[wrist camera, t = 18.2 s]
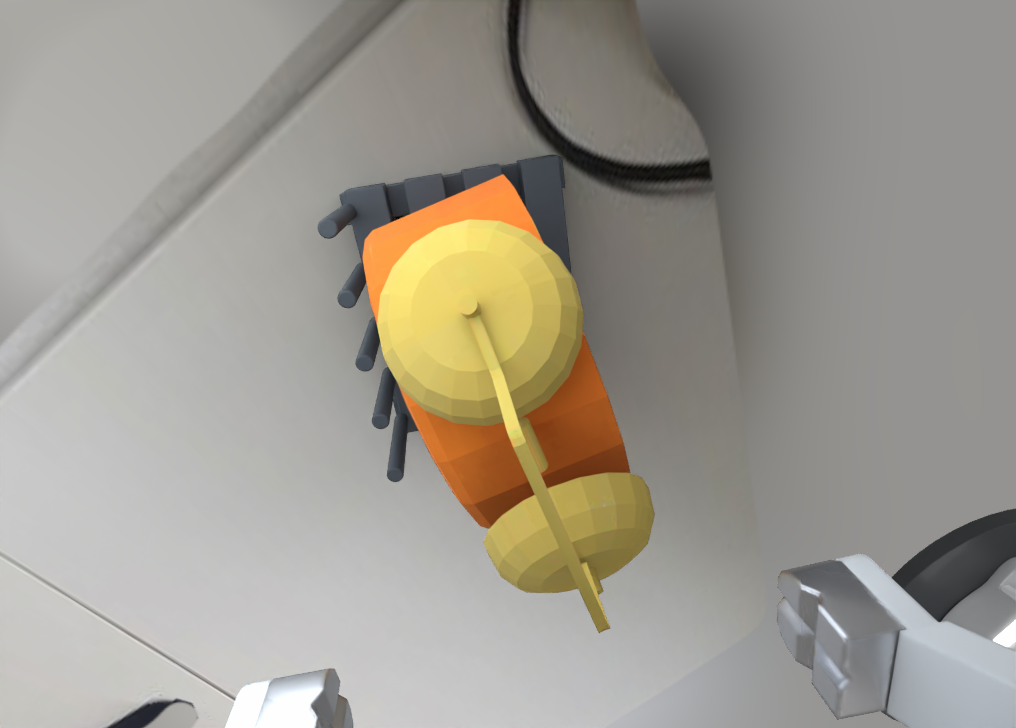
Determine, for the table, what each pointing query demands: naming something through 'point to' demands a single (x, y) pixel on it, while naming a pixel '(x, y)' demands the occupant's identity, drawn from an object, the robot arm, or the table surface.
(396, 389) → the rack
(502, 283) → the alarm clock
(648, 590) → the table surface
